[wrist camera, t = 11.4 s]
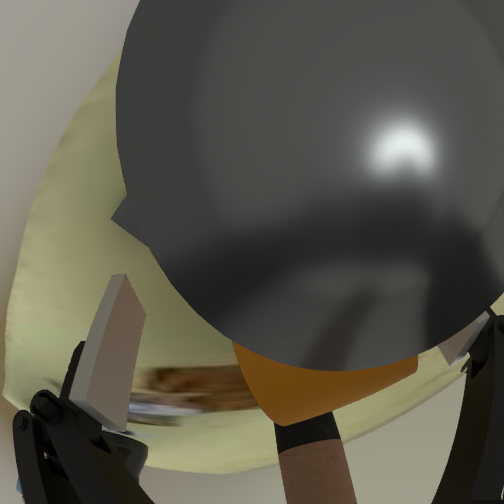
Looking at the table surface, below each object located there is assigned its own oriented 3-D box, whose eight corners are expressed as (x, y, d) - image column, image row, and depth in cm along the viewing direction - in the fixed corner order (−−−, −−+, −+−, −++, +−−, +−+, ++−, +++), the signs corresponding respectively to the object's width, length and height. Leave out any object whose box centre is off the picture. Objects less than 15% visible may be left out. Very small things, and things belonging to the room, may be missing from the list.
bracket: (156, 177, 14) (80, 379, 5) (272, 113, 13) (427, 237, 3) (244, 294, 20) (270, 454, 11) (333, 253, 19) (408, 404, 10)
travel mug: (320, 371, 30) (361, 523, 13) (328, 392, 34) (362, 516, 17) (260, 389, 31) (283, 539, 14) (278, 408, 35) (300, 530, 18)
